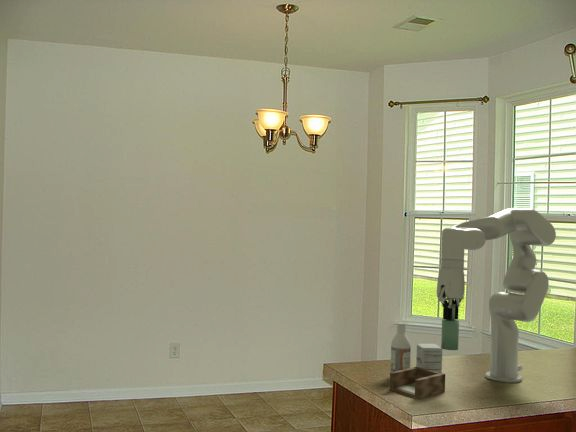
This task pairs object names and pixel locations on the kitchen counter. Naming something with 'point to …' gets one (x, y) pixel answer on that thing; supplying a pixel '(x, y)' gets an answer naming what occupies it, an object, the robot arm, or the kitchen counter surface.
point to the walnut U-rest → (417, 382)
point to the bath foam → (400, 349)
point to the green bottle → (450, 332)
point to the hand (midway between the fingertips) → (450, 318)
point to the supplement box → (429, 357)
